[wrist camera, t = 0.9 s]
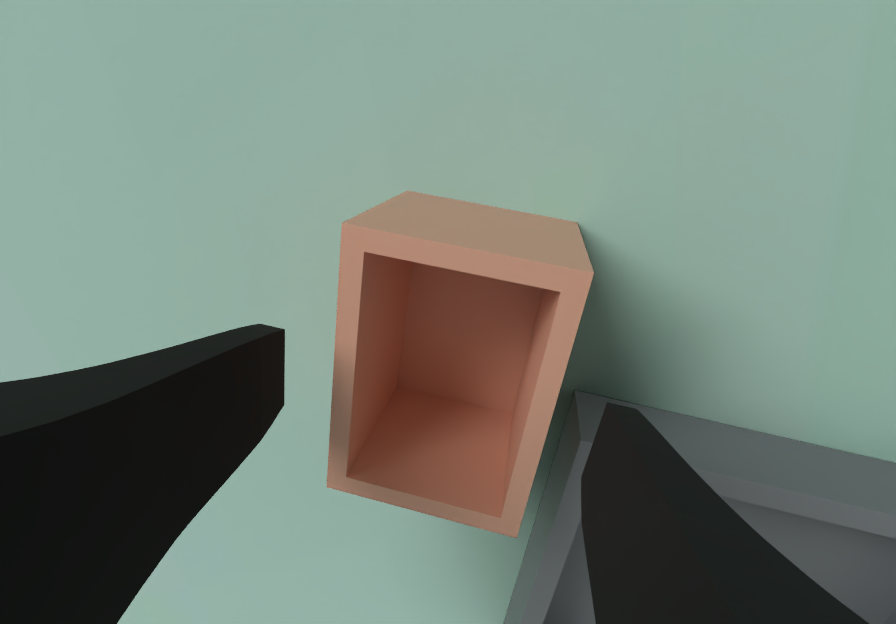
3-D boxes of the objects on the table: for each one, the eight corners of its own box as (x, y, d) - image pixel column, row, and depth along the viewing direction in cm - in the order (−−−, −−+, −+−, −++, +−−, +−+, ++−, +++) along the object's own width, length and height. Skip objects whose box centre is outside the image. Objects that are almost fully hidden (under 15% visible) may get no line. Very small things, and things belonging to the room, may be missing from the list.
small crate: (576, 221, 13) (594, 272, 9) (524, 420, 16) (516, 538, 11) (408, 189, 14) (341, 222, 9) (386, 387, 17) (326, 486, 12)
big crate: (997, 486, 14) (1092, 562, 11) (805, 719, 19) (843, 806, 16) (574, 390, 15) (580, 440, 13) (501, 630, 20) (495, 698, 18)
